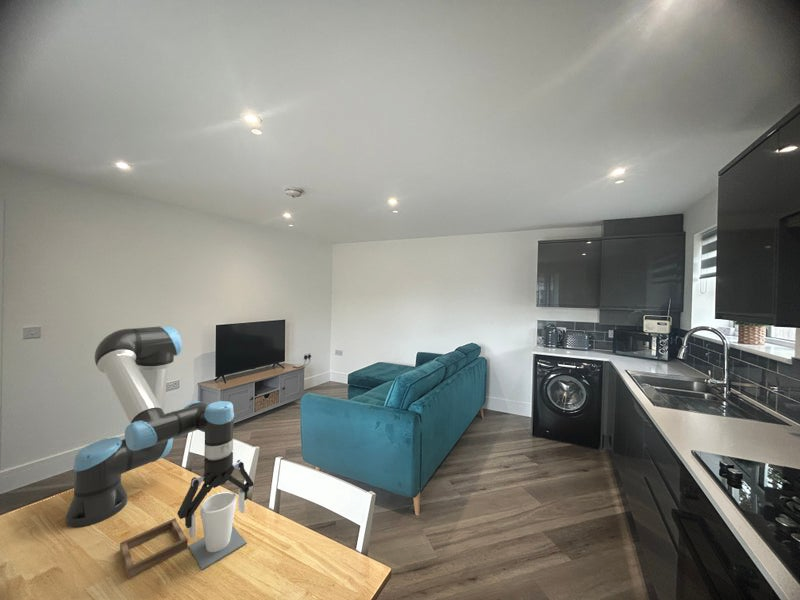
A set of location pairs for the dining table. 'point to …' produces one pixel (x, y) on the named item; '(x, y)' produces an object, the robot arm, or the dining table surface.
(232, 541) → the mat
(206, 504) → the foam cup
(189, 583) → the dining table surface
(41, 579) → the dining table surface
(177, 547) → the frame
